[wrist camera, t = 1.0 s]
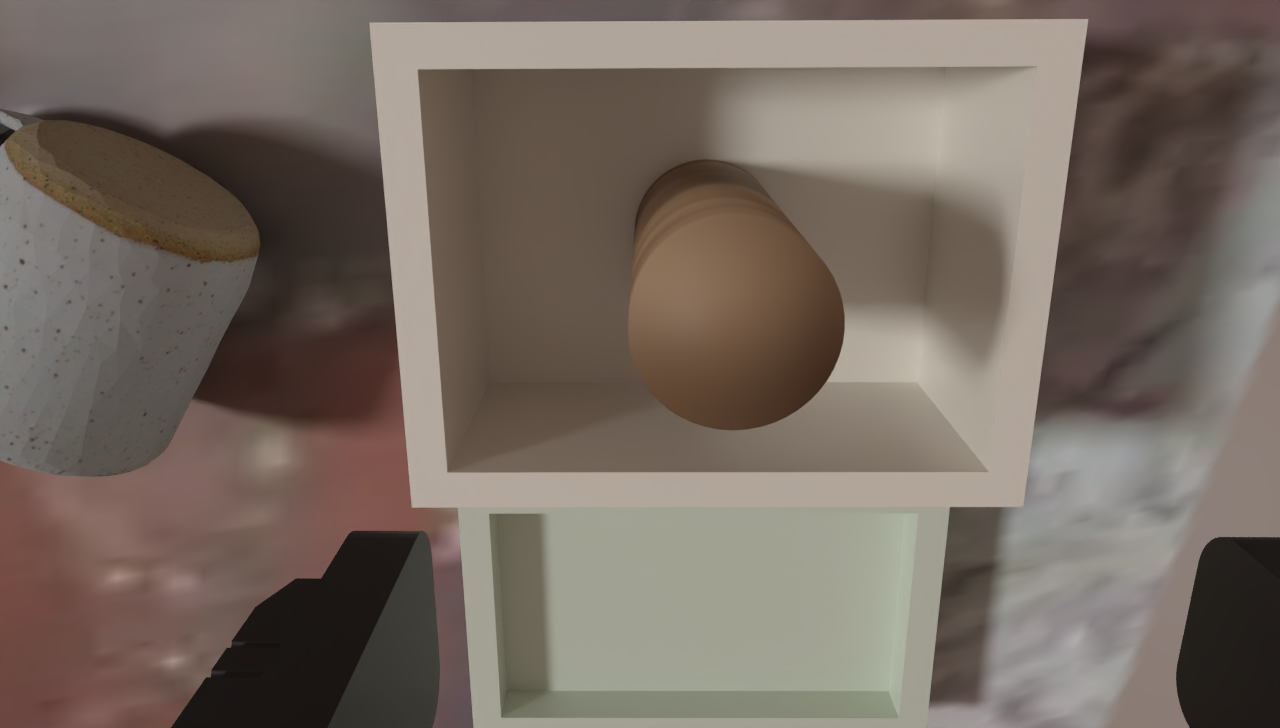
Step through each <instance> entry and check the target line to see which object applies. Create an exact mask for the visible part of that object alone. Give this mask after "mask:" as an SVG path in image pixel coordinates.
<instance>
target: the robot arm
mask: <svg viewBox="0 0 1280 728" xmlns="http://www.w3.org/2000/svg"><path fill="white" fill-rule="evenodd" d="M439 677H440V662H439V647H438V634H437V621H436V607H435V594H434V581H433V567H432V555H431V547H430V542H429V538H428V536H427V534H426V532H424V531H352V532H351V533H349V535H348V536H347V538H346V539H345V541H344V542H343V544H342V546H341V547H340V549H339V551H338V552H337V554H336V555H335V557H334V559H333V560H332V562H331V564H330V565H329V567H328V569H327V570H326V572H325V573H324V575H323V577H322V578H321V579H295V580H293V581H292V582H291V583H289V584H288V585H286V586H285V587H283V588H282V589H281V590H279V591H278V592H276V593H275V594H273V595H272V596H271V597H269V598H268V599H266V600H265V601H264V602H262V603H261V604H259V605H258V606H256V607H255V609H254V610H253V611H252V613H251V614H250V616H249V617H248V619H247V620H246V621H245V623H244V624H243V626H242V627H241V629H240V630H239V631H238V633H237V634H236V636H235V637H234V639H233V640H232V646H231V648H227V649H226V650H225V651H224V653H223V654H222V656H221V657H220V659H219V660H218V661H217V663H216V664H215V666H214V667H213V669H212V674H211V677H210V678H208V677H206V679H205V680H204V681H203V683H202V684H201V686H200V687H199V689H198V690H197V691H196V693H195V694H194V696H193V697H192V699H191V700H190V701H189V703H188V704H187V706H186V707H185V709H184V710H183V711H182V713H181V714H180V716H179V717H178V719H177V720H176V721H175V723H174V724H173V726H172V727H171V728H432V726H433V723H434V719H435V714H436V708H437V702H438V693H439ZM1176 682H1177V692H1178V697H1179V702H1180V706H1181V709H1182V712H1183V714H1184V717H1185V719H1186V721H1187V723H1188V725H1189V727H1190V728H1280V538H1279V537H1218V538H1215V539H1213V540H1211V541H1210V542H1209V543H1208V544H1207V545H1206V546H1205V548H1204V549H1203V551H1202V554H1201V556H1200V559H1199V563H1198V568H1197V573H1196V577H1195V582H1194V587H1193V592H1192V596H1191V601H1190V607H1189V611H1188V616H1187V621H1186V625H1185V630H1184V635H1183V640H1182V645H1181V649H1180V654H1179V660H1178V664H1177V672H1176Z"/></svg>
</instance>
